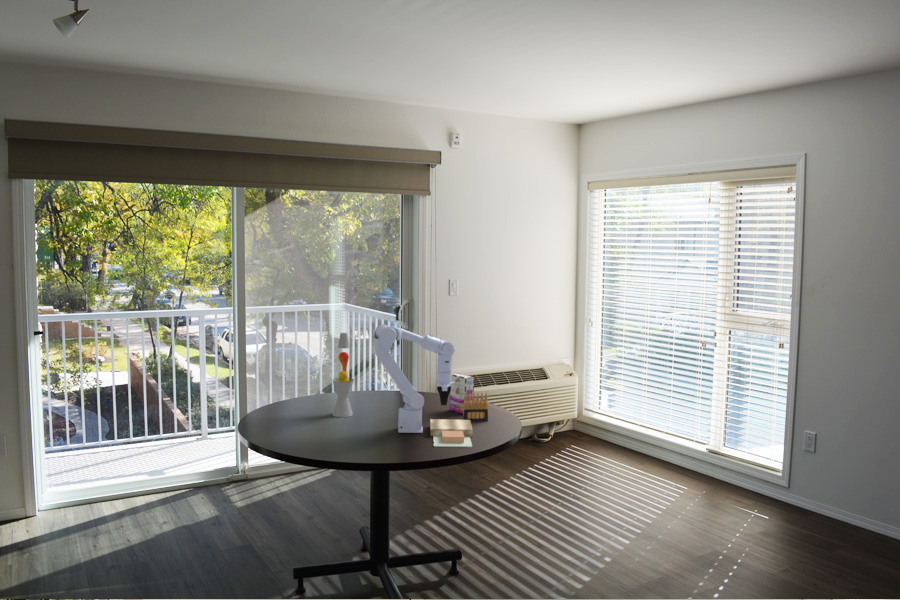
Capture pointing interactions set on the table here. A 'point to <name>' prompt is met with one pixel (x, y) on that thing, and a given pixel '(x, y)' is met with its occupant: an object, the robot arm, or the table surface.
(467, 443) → the mat
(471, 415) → the ammunition clip
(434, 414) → the table surface
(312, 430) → the table surface
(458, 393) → the candy bar box
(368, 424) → the table surface
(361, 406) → the table surface
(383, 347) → the robot arm
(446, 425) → the riser
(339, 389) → the lava lamp
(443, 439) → the peach flat block
